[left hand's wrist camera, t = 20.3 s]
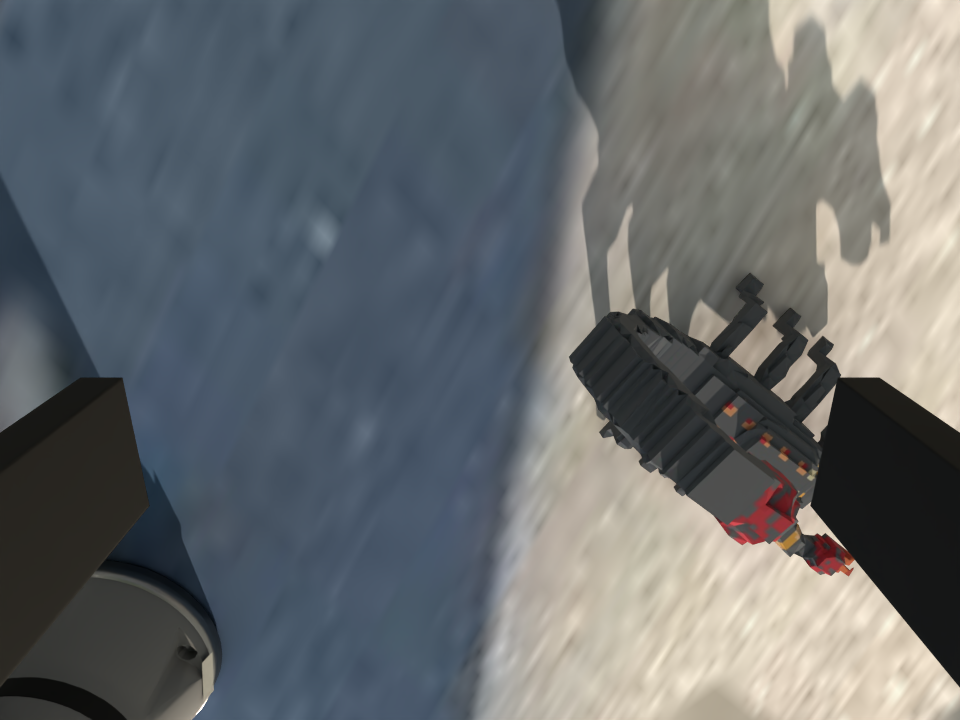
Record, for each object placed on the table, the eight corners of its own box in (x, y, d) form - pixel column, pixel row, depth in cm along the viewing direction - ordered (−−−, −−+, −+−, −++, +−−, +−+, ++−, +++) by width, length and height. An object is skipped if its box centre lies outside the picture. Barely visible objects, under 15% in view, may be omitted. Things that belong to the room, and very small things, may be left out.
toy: (637, 175, 37) (772, 237, 20) (939, 436, 43) (1242, 656, 26) (490, 352, 41) (497, 529, 24) (786, 569, 47) (961, 836, 30)
